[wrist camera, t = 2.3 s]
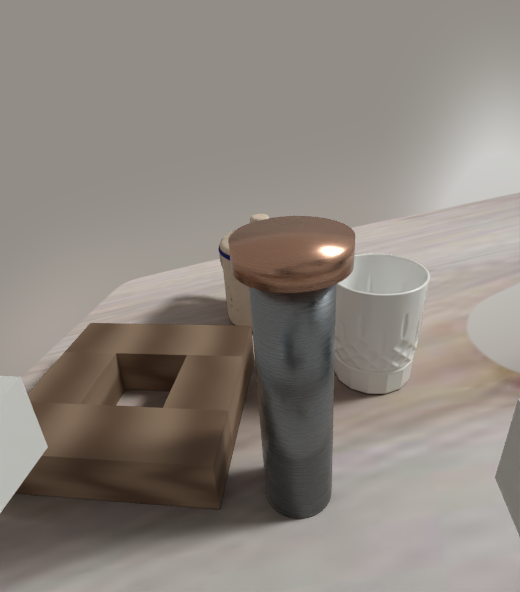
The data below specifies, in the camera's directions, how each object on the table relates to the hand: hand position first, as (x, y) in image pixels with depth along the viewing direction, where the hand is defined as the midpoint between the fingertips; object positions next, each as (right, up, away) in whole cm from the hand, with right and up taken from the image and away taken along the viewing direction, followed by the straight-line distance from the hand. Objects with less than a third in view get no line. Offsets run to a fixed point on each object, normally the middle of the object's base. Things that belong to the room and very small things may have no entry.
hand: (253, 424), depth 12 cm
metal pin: (+3, -9, +17) cm, 20 cm away
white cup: (+10, -4, +28) cm, 30 cm away
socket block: (-9, -7, +24) cm, 27 cm away
